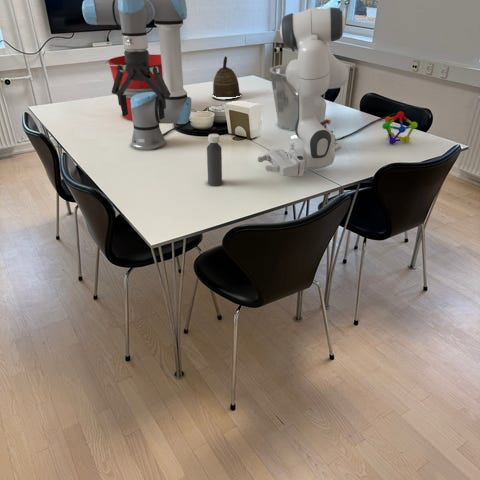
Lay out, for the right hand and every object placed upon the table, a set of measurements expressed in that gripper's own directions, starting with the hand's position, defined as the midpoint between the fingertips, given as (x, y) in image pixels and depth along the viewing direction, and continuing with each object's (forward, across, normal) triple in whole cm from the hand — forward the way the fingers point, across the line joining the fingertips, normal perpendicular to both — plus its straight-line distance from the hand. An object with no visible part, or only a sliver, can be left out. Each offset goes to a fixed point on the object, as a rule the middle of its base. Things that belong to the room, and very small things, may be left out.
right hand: (262, 164), depth 172 cm
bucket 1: (+35, -100, +6) cm, 106 cm away
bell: (-19, -124, +6) cm, 126 cm away
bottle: (+19, 0, +6) cm, 20 cm away
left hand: (+43, 0, -22) cm, 49 cm away
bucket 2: (-39, -59, +6) cm, 71 cm away
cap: (+19, 0, -13) cm, 23 cm away
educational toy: (-75, -21, +6) cm, 78 cm away
